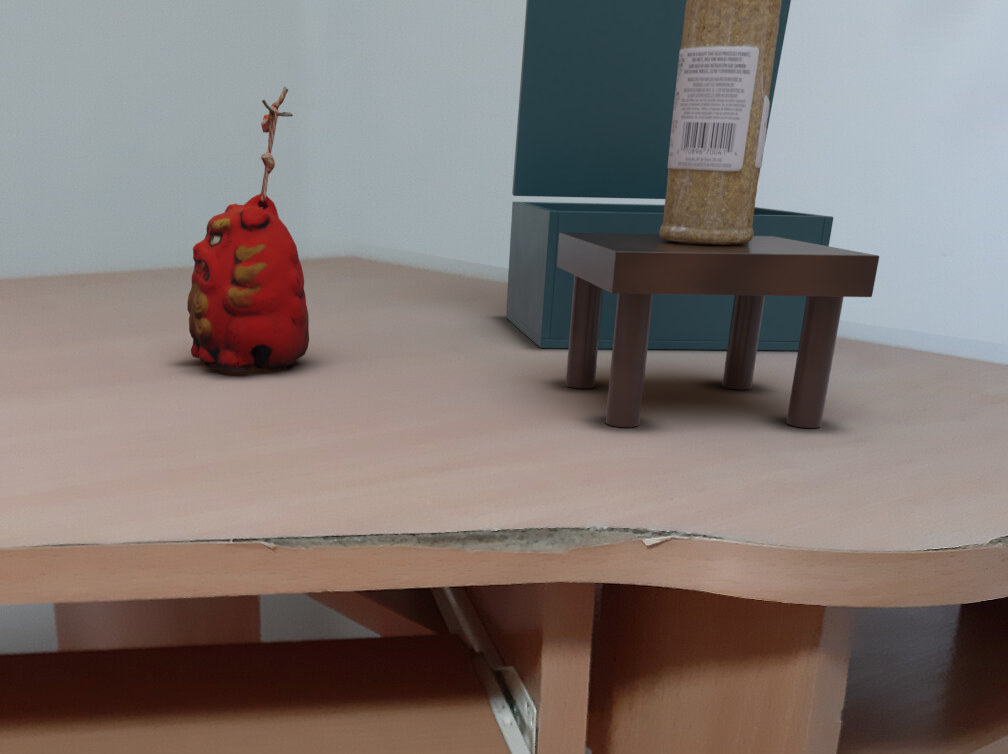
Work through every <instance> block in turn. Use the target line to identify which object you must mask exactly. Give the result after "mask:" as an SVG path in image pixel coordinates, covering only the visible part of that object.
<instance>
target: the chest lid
mask: <svg viewBox="0 0 1008 754" xmlns="http://www.w3.org/2000/svg"><path fill="white" fill-rule="evenodd" d="M686 1H687V0H526V1H525V3H526V4H525V5H526V6H525V16H524V28H523V29H524V31H523V45H522V47H523V48H522V55H521V56H522V57H521V70H520V71H521V72H520V86H519V96H518V97H519V98H518V108H517V109H518V110H517V125H516V137H515V148H514V149H515V151H514V162H513V163H514V164H513V177H512V191H511V194H512V196H514V197H543V198H544V197H545V198H549V197H550V198H557V197H558V198H590V199H591V198H593V199H594V198H595V199H599V198H600V199H634V200H635V199H637V200H639V199H643V200H665V198H666V192H667V177H668V157H669V147H670V137H671V127H672V118H673V108H674V99H675V90H676V81H677V71H678V61H679V52H680V49H681V44H682V35H683V25H684V18H685V5H686ZM791 3H792V0H781V9H780V15H779V28H778V35H777V42H776V50H775V55H774V65H773V72H772V80H771V87H770V94H769V102H770V105H769V114H768V122H767V129H766V136H767V134H768V130H769V124H770V119H771V112H772V106H773V102H774V95H775V91H776V84H777V79H778V75H779V74H778V73H779V69H780V63H781V58H782V51H783V46H784V42H785V36H786V30H787V25H788V19H789V14H790V8H791ZM766 139H767V137H766V138H765V142H766ZM765 145H766V144H765ZM765 145H764V147H765ZM760 173H761V171H760V172H759V175H760ZM759 178H760V177H759ZM759 178H758V180H760V179H759ZM758 184H759V183H758ZM758 184H757V186H758Z"/></svg>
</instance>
